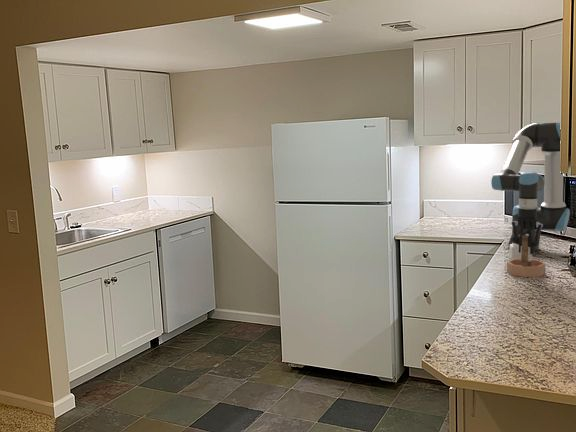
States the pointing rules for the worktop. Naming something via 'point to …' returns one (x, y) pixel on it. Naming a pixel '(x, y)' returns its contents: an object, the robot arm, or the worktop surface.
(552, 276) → the worktop surface
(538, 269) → the orange octagonal tray
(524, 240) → the wooden bar
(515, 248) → the medicine bottle
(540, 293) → the worktop surface
